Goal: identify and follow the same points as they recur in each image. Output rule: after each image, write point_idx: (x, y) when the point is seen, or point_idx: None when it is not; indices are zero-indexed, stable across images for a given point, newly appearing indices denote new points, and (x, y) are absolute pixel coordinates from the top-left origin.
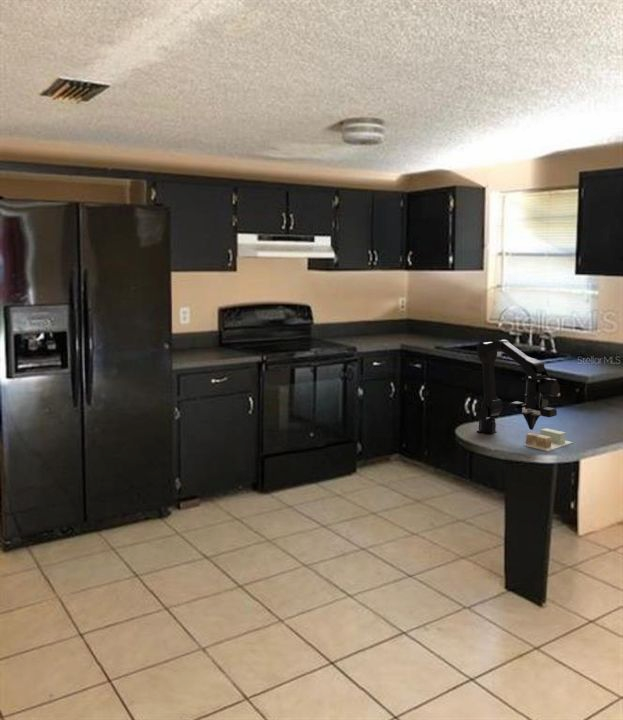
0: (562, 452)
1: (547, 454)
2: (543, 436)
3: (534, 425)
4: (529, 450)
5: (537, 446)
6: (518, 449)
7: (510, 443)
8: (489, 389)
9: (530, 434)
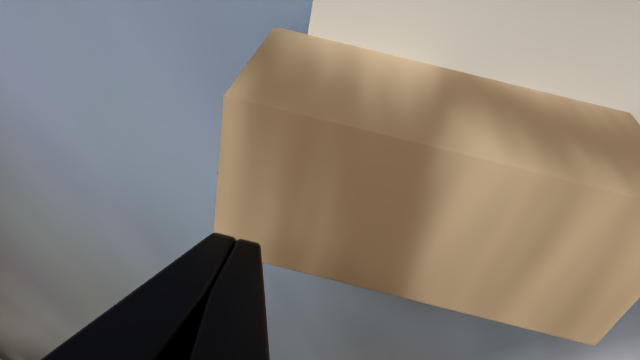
0: None
1: (586, 351)
2: (529, 250)
3: (265, 325)
4: (384, 312)
5: None
6: (284, 323)
7: (110, 186)
8: None
9: (277, 241)
